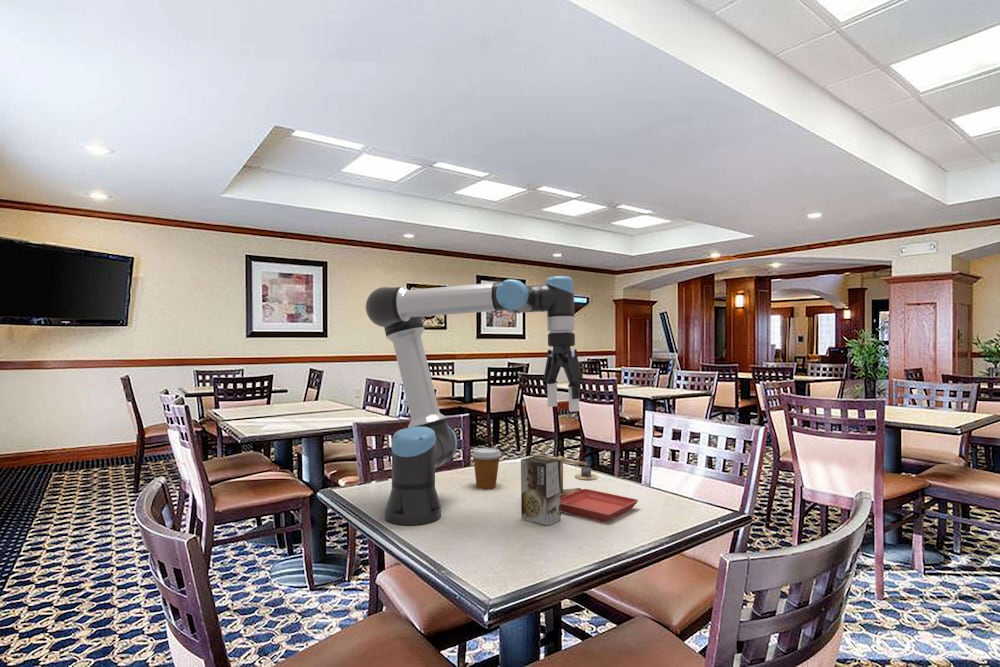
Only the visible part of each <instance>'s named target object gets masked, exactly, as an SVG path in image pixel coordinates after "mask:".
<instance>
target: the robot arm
mask: <svg viewBox="0 0 1000 667" xmlns="http://www.w3.org/2000/svg"><path fill="white" fill-rule="evenodd" d="M500 311H503V312H504V311H506V312H507V313H509V314H511V313H512V314H513V313H515V314H523V313H536V312H537V313H539V312H541V313H542V312H544V313H545V312H546V314H547V315H546V316H547V317H546V322H547V323H546V324H547V332H549V333H548V334H547V346H548V347H550V348H551V347H552V349H548V350H547V352H546V353H547V355H546V356H547V358H546V363H545V369H544V374H543V381H544V382H546V385H547V386H546V387H547V388H546V389H547V407H548V408H549V407H550V408H551V407H554V408H555V407H558V380H557V378H558V377H559V374H560V370H561V368H563V370H564V373H565V376H566V378H567V381H568V386H567V387H568V411H569V412H572V413H573V412H580V387H581V385H584V383H585V382H584V378H583V374H582V373H583V372H582V371H581V366H580V363H579V358H578V351H577V349H571V347H574V346H576V334H575V333H574V331H575V324H576V320H575V292H574V281H573V279H572V277H570V276H567V275H566V276H565V275H560V276H559V275H557V276H550V277H547V278H546V283H545V284H541V285H538V284H537V285H527V284H525V283H523V281H521V280H518V279H514V278H513V279H505V280H503V281H498V282H486V283H475V284H474V283H473V284H463V285H452V286H451V285H450V286H440V287H429V288H417V289H408V288H407V287H405V286H399V287H398V286H397V287H394V286H393V287H391V286H385V287H384V286H382V287H378V288H377V289H374V290H373V291H372V292H371V293H370V294H369V295H368V297H367V299H366V302H365V312H366V315H367V317H368V319H370V321H371V322H372V323H373V324H375V325H377V327H381V328H384V333H385V336H386V339H387V340H389V341H390V342H392V344H393V348H394V353H395V357H396V361H397V366H398V368H399V373H400V377H401V382H402V386H403V390H404V394H405V397H406V398H405V399H406V403H407V408H408V411H409V415H410V419H411V420H410V422H409V424H408V426H407V428H401V429H399V430H397V431H396V432H395V433H394V434H393V435H392V440H391V441H392V442H391V445H390V448H391V449H390V450H391V490H390V492H389V497H388V500H387V502H386V504H385V505H386V506H385V509H384V519H385V520H386V521H387V522H389V523H391V524H395V525H401V526H416V525H424V524H430V523H433V522H436V521H437V520H439V519H440V518H441V517H442V504H441V502H440V499H439V496H438V492H437V489H436V468H439V467H440V466H444V465H445V464H446V463H448V462H449V461H450V460H451V459H452V458H453V456H454V455H455V454H456V450H457V449H458V439H457V435H456V433H455V431H454V430H453V428H451V427H450V426H449V424H448V420H447V417H446V415H444V414H442V413H441V412H440V408H439V404H438V401H437V400H438V399H437V397H436V396H437V395H436V391H435V387H434V384H433V380H432V376H431V372H430V368H429V363H428V359H427V356H426V352H425V351H426V350H425V348H424V343H423V339H422V334H423V333H424V331H425V326H424V322H423V320H424V319H425V317H433V316H435V317H436V316H445V315H458V314H459V315H460V314H461V315H462V314H471V313H472V314H473V313H474V314H475V313H483V312H487V313H488V312H500Z"/></svg>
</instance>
